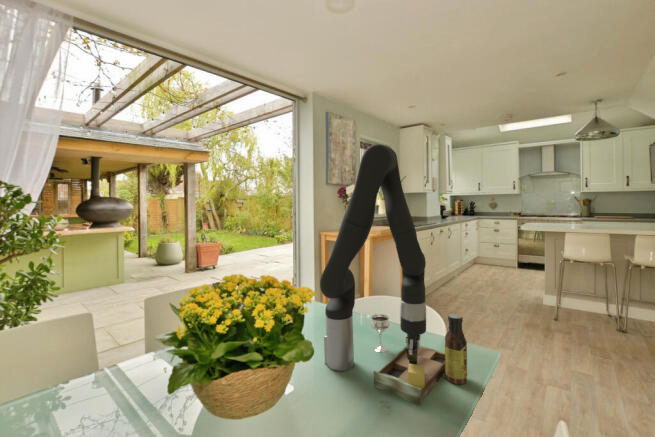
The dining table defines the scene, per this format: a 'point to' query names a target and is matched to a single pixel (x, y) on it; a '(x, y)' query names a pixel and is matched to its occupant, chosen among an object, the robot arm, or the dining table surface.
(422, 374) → the mustard block
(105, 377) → the dining table surface
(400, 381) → the trap deck
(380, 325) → the wineglass
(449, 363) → the sauce bottle
